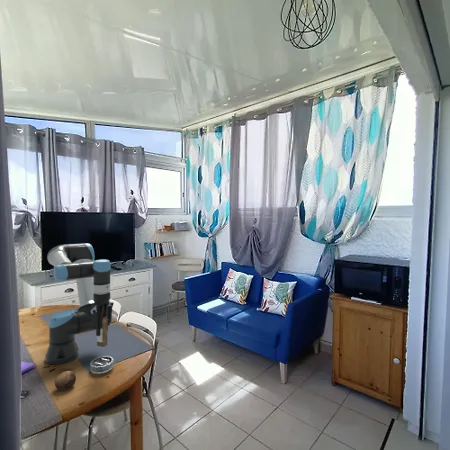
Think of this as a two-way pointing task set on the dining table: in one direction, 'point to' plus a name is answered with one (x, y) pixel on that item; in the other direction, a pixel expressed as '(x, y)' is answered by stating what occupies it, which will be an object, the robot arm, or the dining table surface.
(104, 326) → the brown wooden block
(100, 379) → the dining table surface
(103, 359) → the tin
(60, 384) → the brown oval lump
